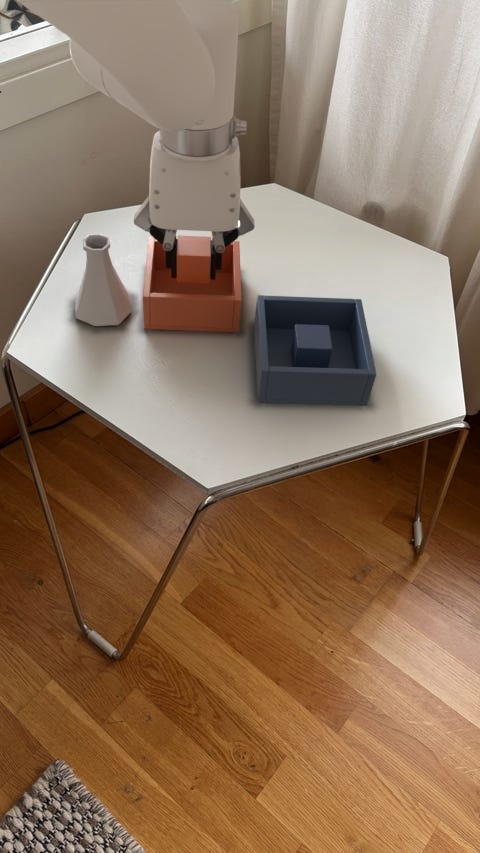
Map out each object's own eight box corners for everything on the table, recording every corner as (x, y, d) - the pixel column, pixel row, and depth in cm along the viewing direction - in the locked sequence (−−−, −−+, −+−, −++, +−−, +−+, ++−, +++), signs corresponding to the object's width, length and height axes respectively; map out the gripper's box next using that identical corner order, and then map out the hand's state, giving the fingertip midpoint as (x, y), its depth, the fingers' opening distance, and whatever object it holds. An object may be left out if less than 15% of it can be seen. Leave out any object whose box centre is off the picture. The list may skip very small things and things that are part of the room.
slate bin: (257, 402, 80) (261, 371, 76) (253, 326, 88) (257, 294, 84) (367, 405, 81) (376, 374, 77) (353, 330, 89) (361, 298, 85)
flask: (124, 332, 86) (118, 265, 78) (66, 323, 86) (55, 255, 79) (139, 294, 91) (135, 228, 83) (83, 286, 91) (75, 219, 83)
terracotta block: (177, 261, 89) (177, 234, 85) (209, 263, 89) (210, 236, 86) (176, 282, 86) (176, 255, 83) (209, 283, 86) (210, 256, 83)
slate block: (293, 372, 83) (297, 348, 80) (290, 348, 85) (294, 323, 82) (326, 373, 83) (332, 349, 80) (323, 349, 86) (329, 325, 82)
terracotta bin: (144, 329, 87) (142, 296, 83) (149, 269, 94) (148, 237, 90) (238, 332, 87) (241, 300, 83) (236, 273, 95) (239, 241, 91)
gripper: (274, 116, 76) (259, 255, 90) (117, 108, 75) (127, 250, 89) (278, 152, 71) (262, 294, 86) (111, 144, 70) (122, 289, 84)
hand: (193, 270), depth 87 cm, fingers closed on terracotta block, 4 cm apart
